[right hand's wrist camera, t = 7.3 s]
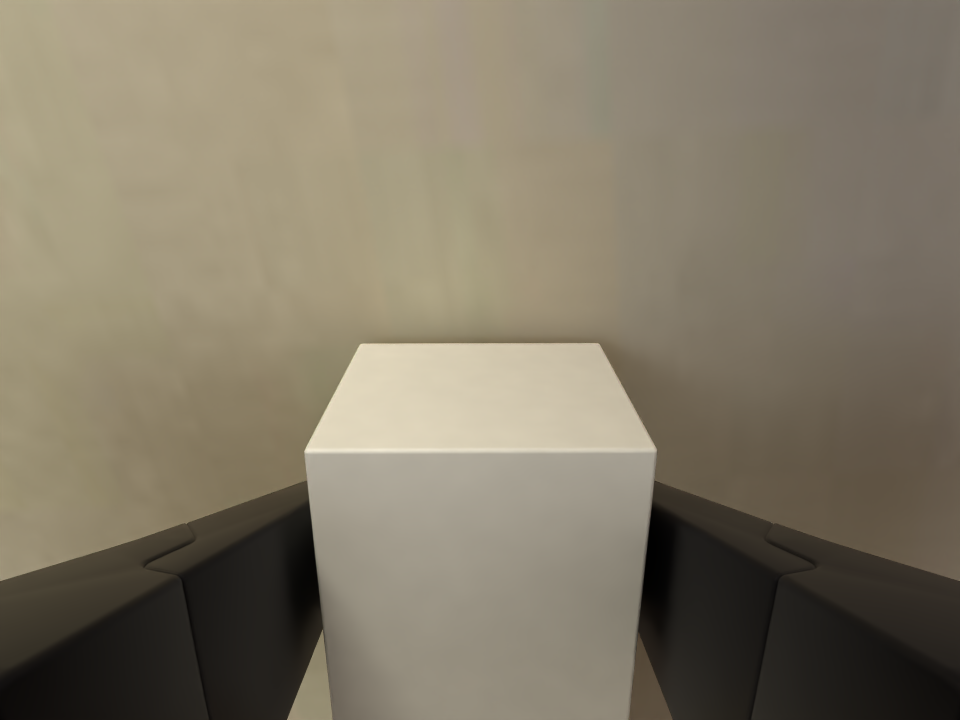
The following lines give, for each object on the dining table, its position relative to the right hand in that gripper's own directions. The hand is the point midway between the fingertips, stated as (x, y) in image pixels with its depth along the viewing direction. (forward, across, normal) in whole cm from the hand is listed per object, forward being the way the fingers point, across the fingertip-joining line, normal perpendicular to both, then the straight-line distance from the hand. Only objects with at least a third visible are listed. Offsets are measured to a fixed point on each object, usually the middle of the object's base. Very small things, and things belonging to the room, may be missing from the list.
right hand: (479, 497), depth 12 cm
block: (+1, 0, 0) cm, 1 cm away
